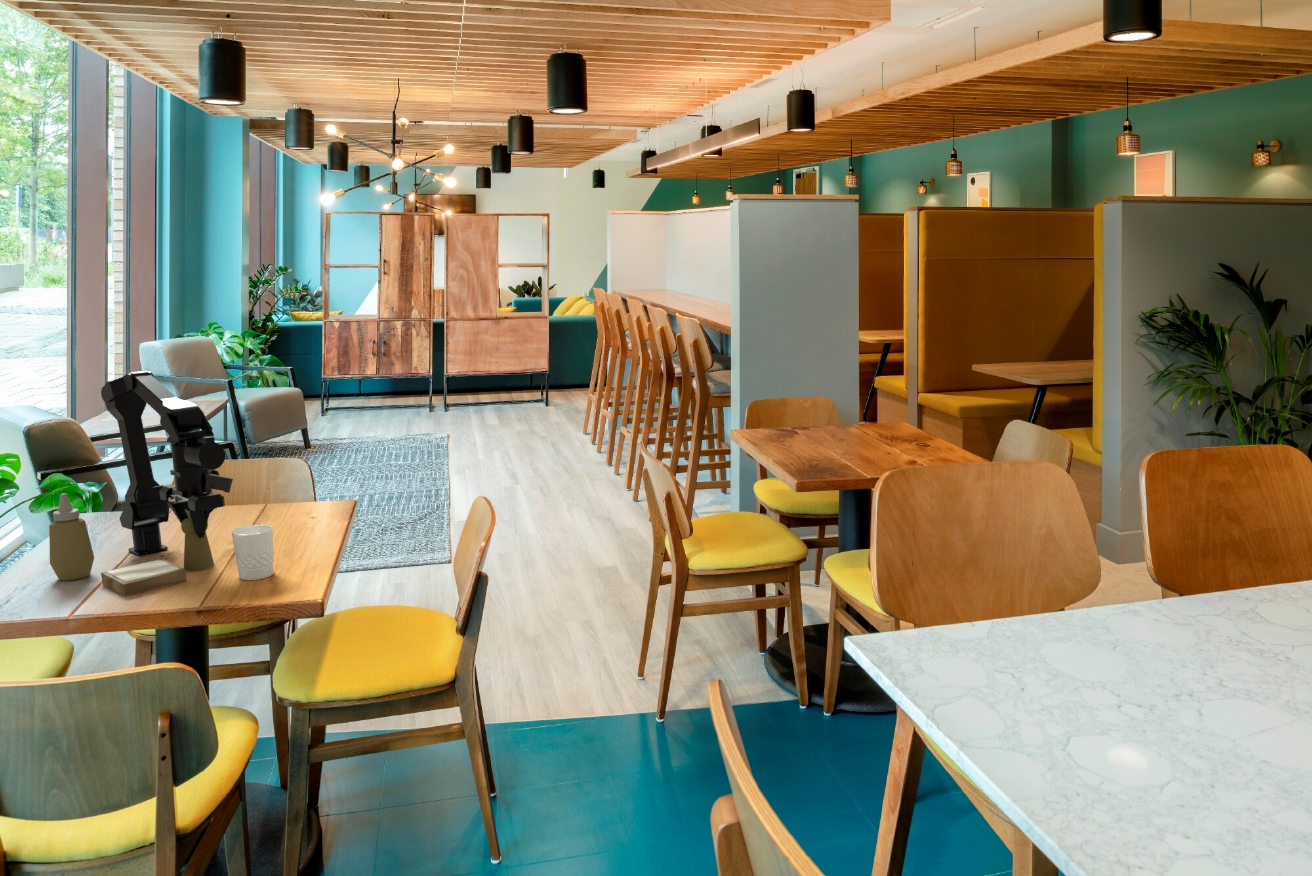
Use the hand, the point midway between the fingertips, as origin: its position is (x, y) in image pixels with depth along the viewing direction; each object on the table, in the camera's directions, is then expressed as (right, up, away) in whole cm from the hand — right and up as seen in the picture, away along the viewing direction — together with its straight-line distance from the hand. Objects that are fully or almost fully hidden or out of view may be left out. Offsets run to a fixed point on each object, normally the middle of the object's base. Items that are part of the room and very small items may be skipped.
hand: (195, 535), depth 209 cm
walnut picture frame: (-6, -9, -9) cm, 14 cm away
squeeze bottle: (-24, -9, -4) cm, 25 cm away
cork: (0, -7, +1) cm, 7 cm away
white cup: (+15, -8, -5) cm, 18 cm away
